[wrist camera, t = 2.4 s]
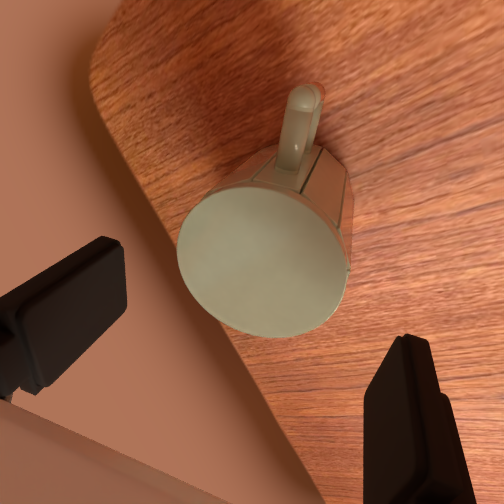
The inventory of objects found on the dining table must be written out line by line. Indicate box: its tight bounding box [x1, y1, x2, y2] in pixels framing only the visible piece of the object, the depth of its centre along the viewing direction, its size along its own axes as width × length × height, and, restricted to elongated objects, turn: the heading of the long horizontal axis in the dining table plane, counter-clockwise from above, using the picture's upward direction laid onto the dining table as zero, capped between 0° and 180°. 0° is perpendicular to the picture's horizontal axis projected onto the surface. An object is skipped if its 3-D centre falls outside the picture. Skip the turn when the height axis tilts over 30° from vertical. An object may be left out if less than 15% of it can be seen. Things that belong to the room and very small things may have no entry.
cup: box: [177, 82, 354, 338], centre depth 15 cm, size 7×10×8 cm
